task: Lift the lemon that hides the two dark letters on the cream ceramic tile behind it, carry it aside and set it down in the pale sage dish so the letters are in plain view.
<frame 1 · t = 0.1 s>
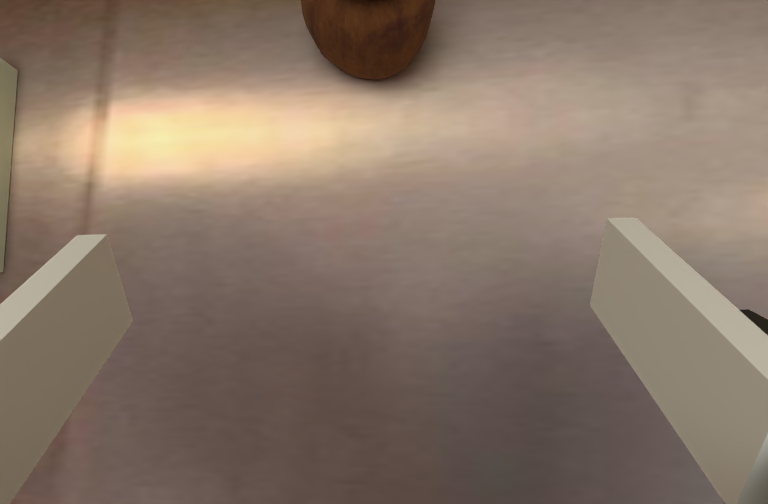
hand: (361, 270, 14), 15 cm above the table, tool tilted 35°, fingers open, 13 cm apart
wooden figurine: (369, 49, 32), on the table
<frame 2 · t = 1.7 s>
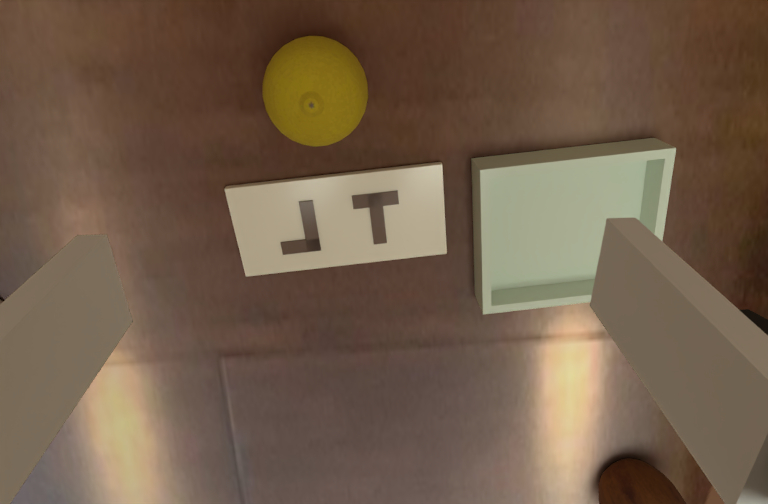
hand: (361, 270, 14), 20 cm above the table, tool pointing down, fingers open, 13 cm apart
wooden figurine: (620, 472, 48), on the table
lemon: (320, 80, 32), on the table
tile: (340, 219, 35), on the table
dish: (558, 221, 36), on the table
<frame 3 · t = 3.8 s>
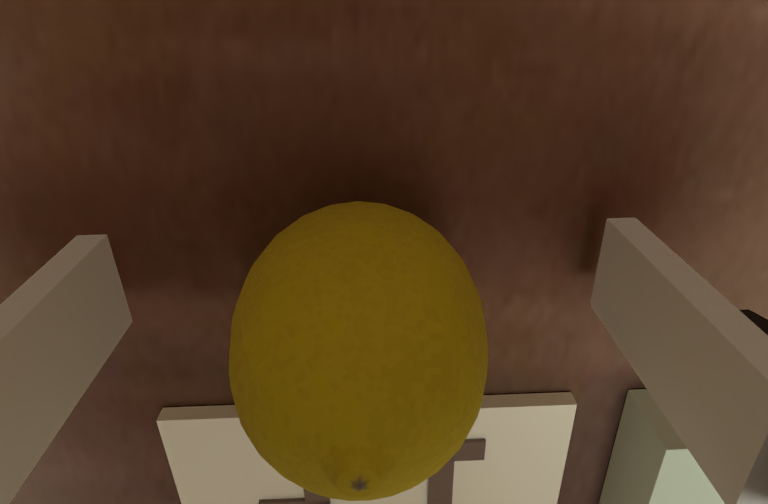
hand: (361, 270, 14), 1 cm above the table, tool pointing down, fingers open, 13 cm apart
lemon: (361, 246, 15), on the table
tile: (371, 464, 19), on the table
dish: (752, 484, 21), on the table
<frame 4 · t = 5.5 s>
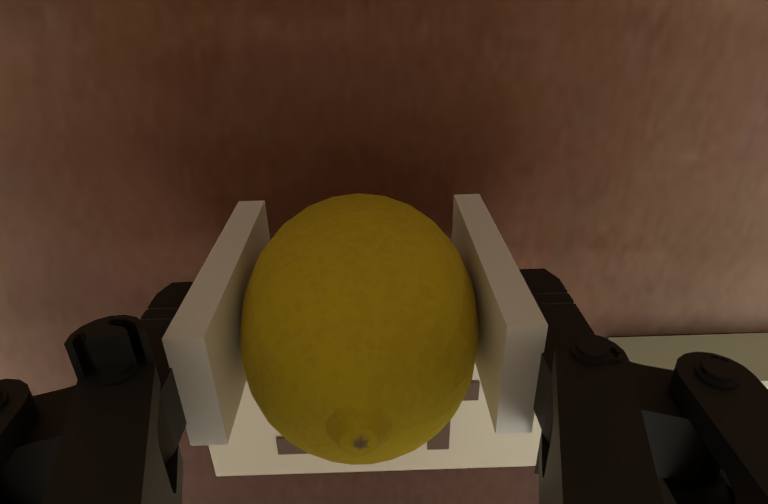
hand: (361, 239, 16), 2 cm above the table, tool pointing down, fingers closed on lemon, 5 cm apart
lemon: (361, 237, 16), point 1 cm above the table, touching gripper
tile: (376, 406, 22), on the table
dish: (723, 429, 23), on the table
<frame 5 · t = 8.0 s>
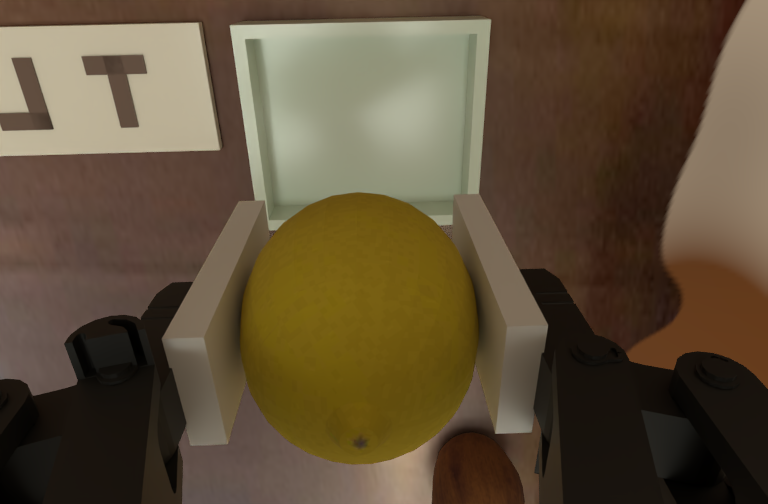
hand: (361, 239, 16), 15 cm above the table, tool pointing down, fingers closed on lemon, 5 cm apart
wooden figurine: (465, 448, 41), on the table
lemon: (361, 237, 16), point 14 cm above the table, touching gripper
tile: (78, 91, 28), on the table
dish: (365, 121, 29), on the table
when the fingers open (3 cm above the table, at t = 10.8 s): lemon drops 2 cm, resting on dish.
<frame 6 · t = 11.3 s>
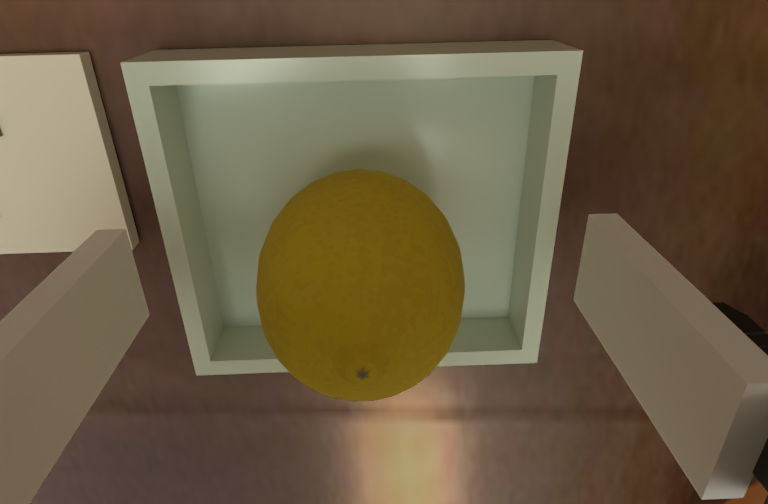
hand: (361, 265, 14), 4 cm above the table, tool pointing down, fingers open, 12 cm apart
lemon: (361, 213, 18), resting on dish
dish: (362, 203, 18), on the table
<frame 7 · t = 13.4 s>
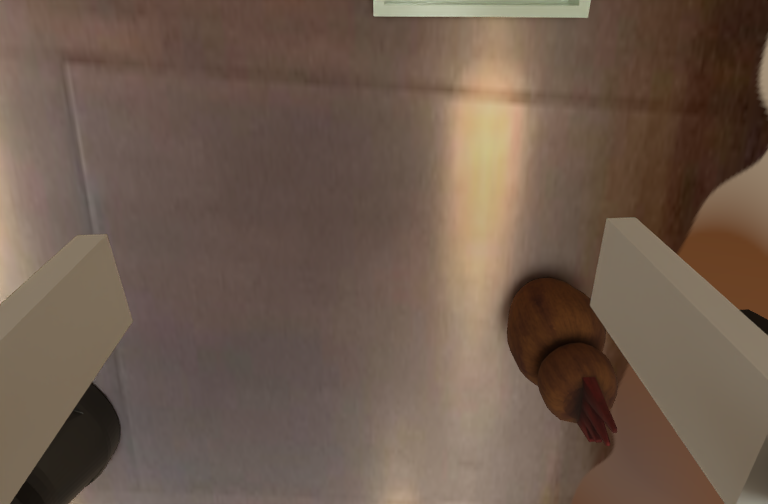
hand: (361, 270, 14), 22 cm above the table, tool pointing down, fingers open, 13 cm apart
wooden figurine: (538, 299, 42), on the table
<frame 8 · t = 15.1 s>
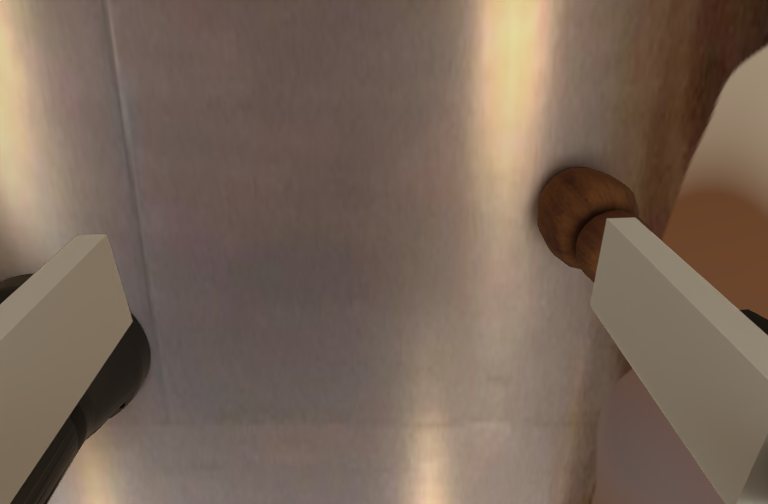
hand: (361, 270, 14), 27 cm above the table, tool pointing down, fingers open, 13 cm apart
wooden figurine: (565, 195, 42), on the table
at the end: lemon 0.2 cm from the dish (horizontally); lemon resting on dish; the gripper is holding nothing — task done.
